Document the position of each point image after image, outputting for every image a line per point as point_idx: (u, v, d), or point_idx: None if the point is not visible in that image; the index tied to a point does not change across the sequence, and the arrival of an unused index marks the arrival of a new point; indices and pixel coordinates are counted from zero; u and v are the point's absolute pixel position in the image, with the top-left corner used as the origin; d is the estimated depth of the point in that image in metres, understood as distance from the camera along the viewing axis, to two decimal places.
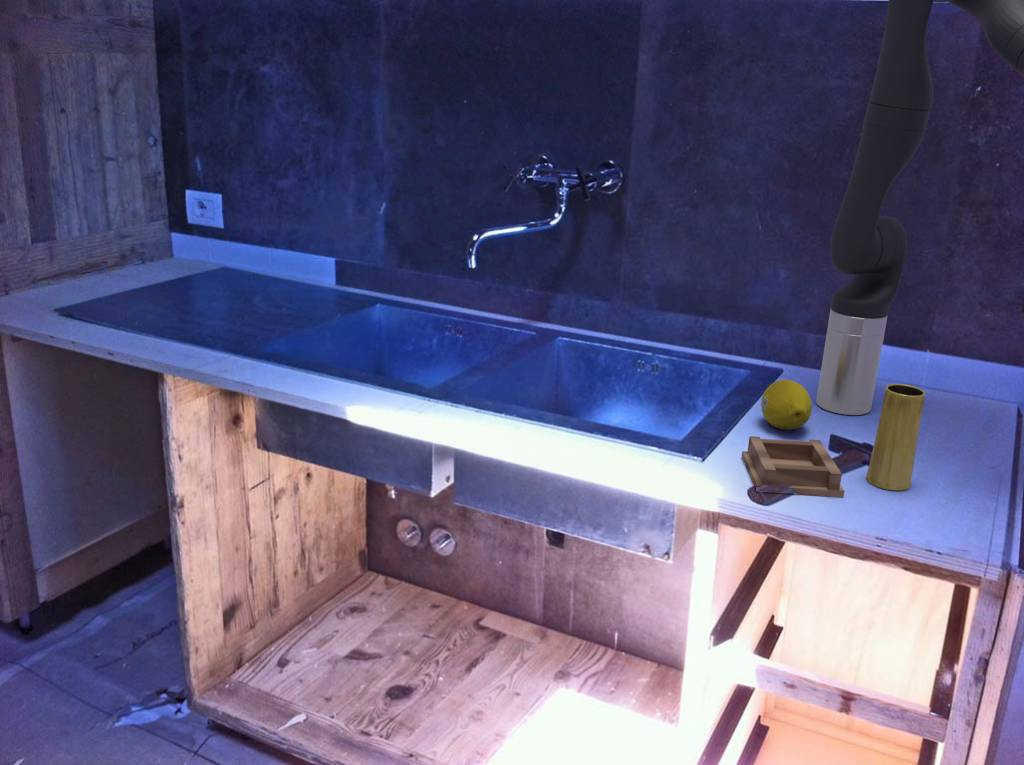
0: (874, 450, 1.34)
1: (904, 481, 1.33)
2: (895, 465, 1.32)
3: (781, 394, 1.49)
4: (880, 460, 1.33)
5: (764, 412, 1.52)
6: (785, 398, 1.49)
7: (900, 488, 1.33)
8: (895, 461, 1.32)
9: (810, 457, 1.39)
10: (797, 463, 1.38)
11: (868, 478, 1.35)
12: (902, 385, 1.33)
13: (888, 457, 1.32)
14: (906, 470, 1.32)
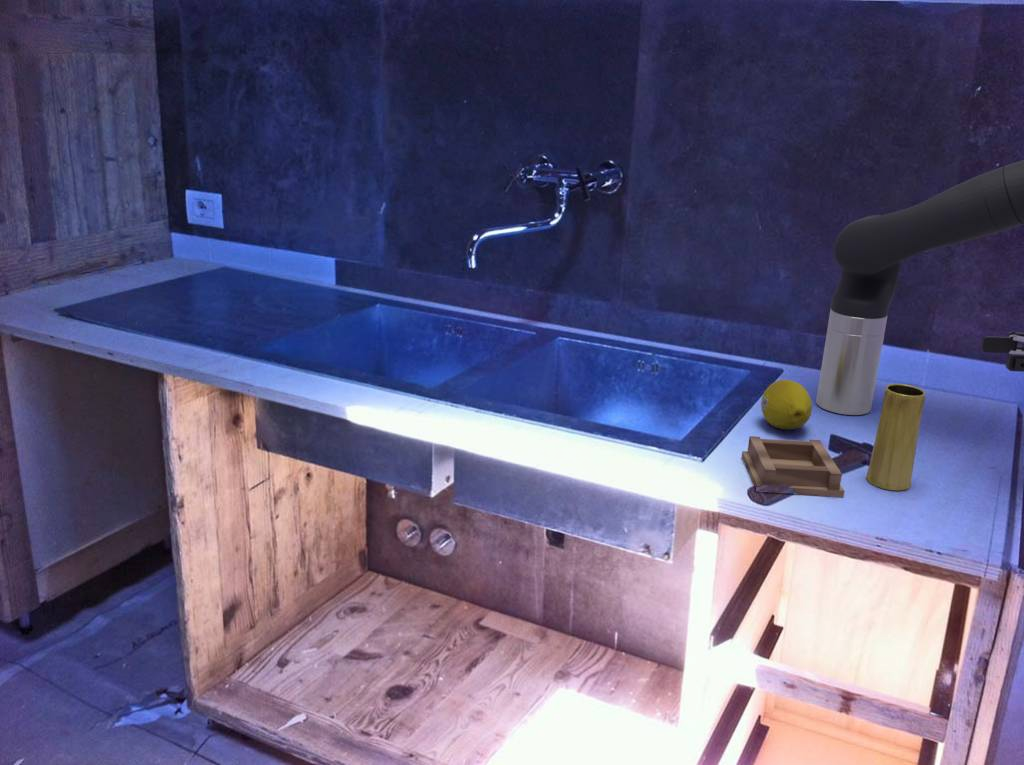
0: (874, 450, 1.34)
1: (904, 481, 1.33)
2: (895, 465, 1.32)
3: (781, 394, 1.49)
4: (880, 460, 1.33)
5: (764, 412, 1.52)
6: (785, 398, 1.49)
7: (900, 488, 1.33)
8: (895, 461, 1.32)
9: (810, 457, 1.39)
10: (797, 463, 1.38)
11: (868, 478, 1.35)
12: (902, 385, 1.33)
13: (888, 457, 1.32)
14: (906, 470, 1.32)
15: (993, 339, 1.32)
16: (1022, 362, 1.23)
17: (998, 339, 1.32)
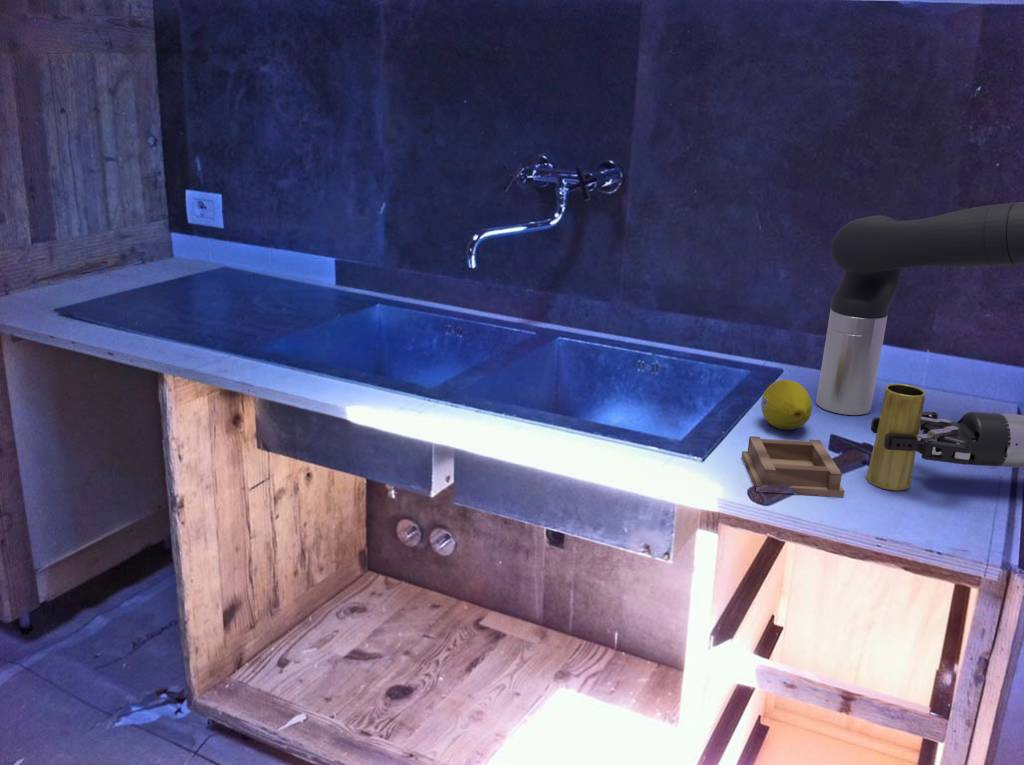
0: (874, 450, 1.34)
1: (904, 481, 1.33)
2: (895, 465, 1.32)
3: (781, 394, 1.49)
4: (880, 460, 1.33)
5: (764, 412, 1.52)
6: (785, 398, 1.49)
7: (900, 488, 1.33)
8: (895, 461, 1.32)
9: (810, 457, 1.39)
10: (797, 463, 1.38)
11: (868, 478, 1.35)
12: (902, 385, 1.33)
13: (888, 457, 1.32)
14: (906, 470, 1.32)
15: None
16: (897, 442, 1.29)
17: None
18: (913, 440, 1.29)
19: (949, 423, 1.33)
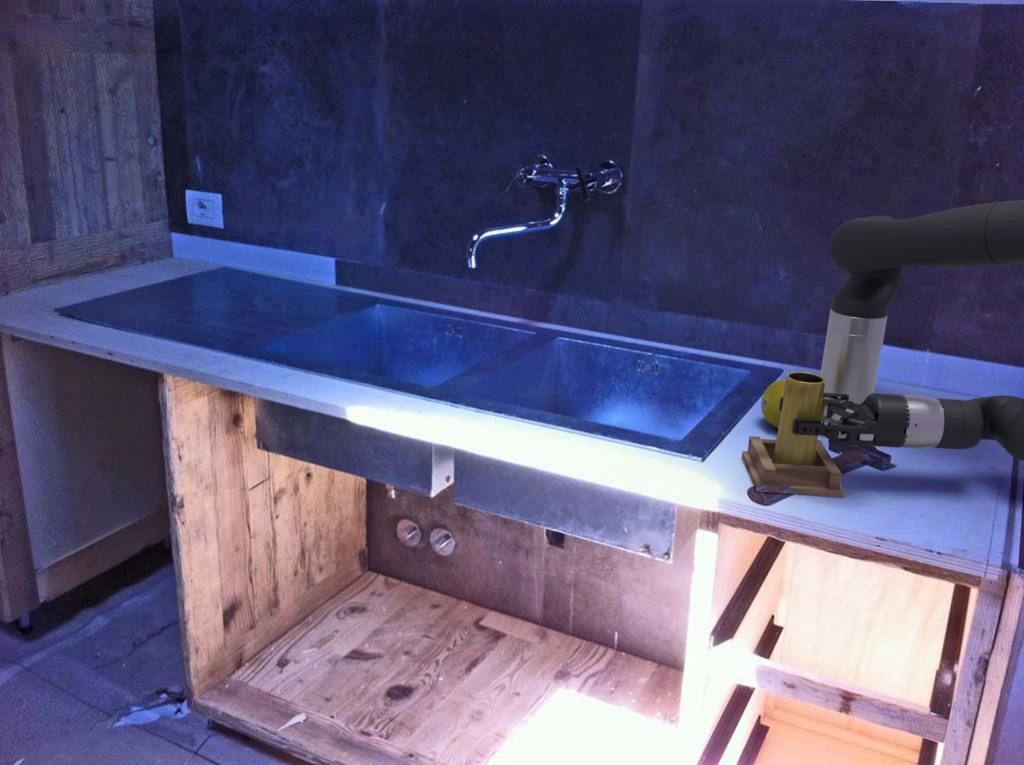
0: (777, 438, 1.34)
1: None
2: (797, 452, 1.32)
3: (781, 394, 1.49)
4: (782, 447, 1.33)
5: (764, 412, 1.52)
6: None
7: None
8: (796, 449, 1.32)
9: None
10: None
11: None
12: (804, 373, 1.33)
13: (790, 444, 1.32)
14: (808, 457, 1.32)
15: None
16: (804, 426, 1.28)
17: None
18: (820, 425, 1.28)
19: (850, 404, 1.33)
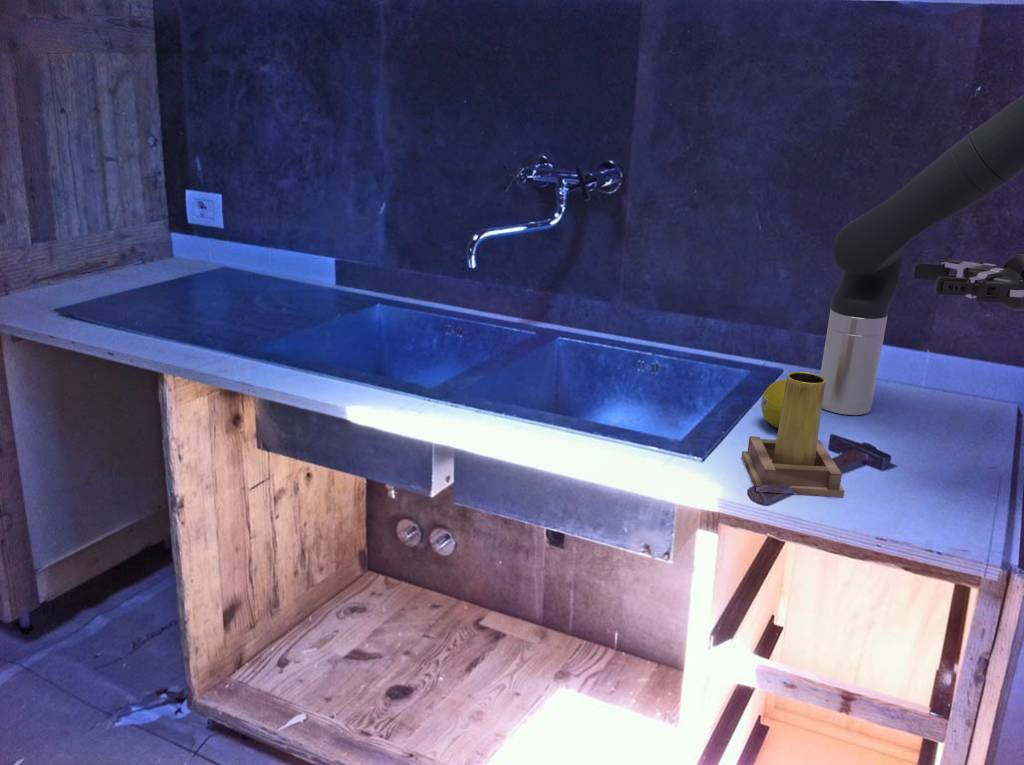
0: (777, 438, 1.34)
1: None
2: (797, 453, 1.32)
3: (781, 394, 1.49)
4: (782, 447, 1.33)
5: (764, 412, 1.52)
6: None
7: None
8: (796, 449, 1.32)
9: None
10: None
11: None
12: (804, 373, 1.33)
13: (790, 444, 1.32)
14: (808, 458, 1.32)
15: (924, 266, 1.30)
16: (950, 284, 1.21)
17: (930, 266, 1.30)
18: (966, 282, 1.21)
19: (992, 266, 1.26)
